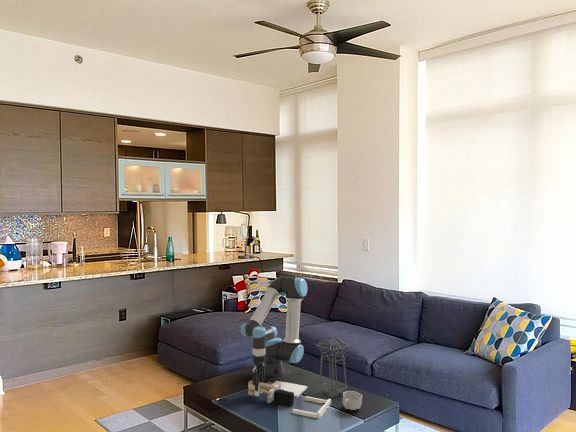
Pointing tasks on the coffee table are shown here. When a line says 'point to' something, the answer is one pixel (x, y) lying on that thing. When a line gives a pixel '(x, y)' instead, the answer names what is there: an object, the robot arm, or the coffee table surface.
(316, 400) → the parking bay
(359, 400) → the teacup
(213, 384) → the coffee table surface
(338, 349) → the geometric lantern
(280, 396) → the digital camera
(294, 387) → the rest board
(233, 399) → the coffee table surface
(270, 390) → the beige piece
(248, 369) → the coffee table surface
